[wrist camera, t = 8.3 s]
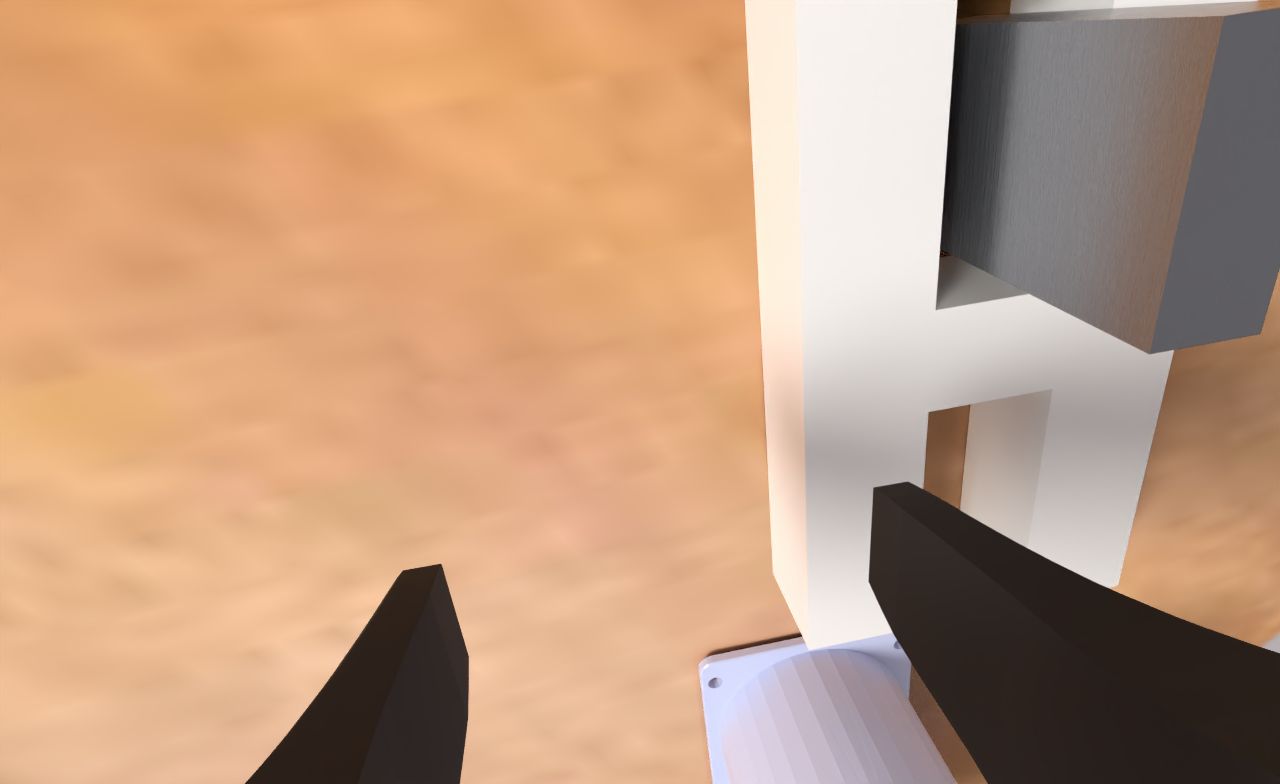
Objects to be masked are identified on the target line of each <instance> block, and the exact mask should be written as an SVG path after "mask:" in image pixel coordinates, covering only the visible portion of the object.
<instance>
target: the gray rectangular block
mask: <svg viewBox="0 0 1280 784" xmlns="http://www.w3.org/2000/svg"><path fill="white" fill-rule="evenodd" d="M940 249H941V250H943V251H945V252H947V253H949V254H951V255H953V256H955V257H957V258H959V259H961V260H963V261H965V262H967V263H969V264H971V265H973V266H975V267H977V268H979V269H981V270H983V271H985V272H987V273H989V274H991V275H993V276H995V277H997V278H999V279H1001V280H1003V281H1005V282H1007V283H1009V284H1011V285H1013V286H1015V287H1017V288H1019V289H1020V290H1022V291H1024V292H1026V293H1028V294H1030V295H1032V296H1034V297H1036V298H1038V299H1040V300H1042V301H1044V302H1046V303H1048V304H1050V305H1052V306H1054V307H1056V308H1058V309H1060V310H1062V311H1064V312H1066V313H1068V314H1070V315H1072V316H1074V317H1076V318H1078V319H1080V320H1082V321H1084V322H1086V323H1088V324H1090V325H1092V326H1094V327H1096V328H1098V329H1100V330H1102V331H1104V332H1106V333H1108V334H1110V335H1112V336H1114V337H1116V338H1118V339H1120V340H1122V341H1124V342H1126V343H1128V344H1130V345H1131V346H1133V347H1135V348H1137V349H1139V350H1141V351H1143V352H1145V353H1147V354H1155V353H1160V352H1166V351H1171V350H1176V349H1182V348H1187V347H1193V346H1198V345H1204V344H1209V343H1214V342H1220V341H1225V340H1231V339H1236V338H1241V337H1247V336H1252V335H1258V334H1260V333H1261V330H1262V326H1263V323H1264V320H1265V316H1266V313H1267V309H1268V306H1269V303H1270V299H1271V296H1272V292H1273V289H1274V286H1275V282H1276V279H1277V276H1278V272H1279V269H1280V0H1267V1H1247V2H1228V3H1208V4H1189V5H1169V6H1149V7H1130V8H1110V9H1090V10H1071V11H1051V12H1032V13H1012V14H992V15H979V16H972V17H965V18H958V19H956V27H955V41H954V56H953V70H952V84H951V98H950V113H949V127H948V141H947V155H946V170H945V184H944V198H943V212H942V227H941V241H940Z"/></svg>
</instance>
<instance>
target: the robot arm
mask: <svg viewBox="0 0 1280 784" xmlns="http://www.w3.org/2000/svg"><path fill="white" fill-rule="evenodd" d="M868 582H869V584H870V586H871V588H872V590H873V593H874V595H875V597H876V599H877V601H878V603H879V606H880V608H881V610H882V612H883V614H884V616H885V618H886V620H887V622H888V624H889V626H890V628H891V630H892V632H893V633H890V634H885V635H880V636H875V637H870V638H866V639H861V640H856V641H851V642H847V643H842V644H837V645H832V646H827V647H823V648H818V649H813V650H809V649H808V647H807V645H806V643H805V641H804V638H803V637H799V638H794V639H789V640H784V641H779V642H775V643H770V644H765V645H760V646H755V647H750V648H746V649H741V650H736V651H731V652H726V653H722V654H717V655H712V656H709V657H706V658H705V659H703V660H702V661H701V662H700V664H699V668H698V669H699V677H700V685H701V694H702V702H703V710H704V719H705V727H706V735H707V744H708V752H709V760H710V768H711V777H712V784H957V782H956V781H955V779H954V777H953V776H952V774H951V772H950V770H949V769H948V767H947V765H946V764H945V762H944V760H943V758H942V757H941V755H940V753H939V752H938V750H937V748H936V746H935V745H934V743H933V741H932V740H931V738H930V736H929V734H928V733H927V731H926V729H925V728H924V726H923V724H922V722H921V721H920V719H919V717H918V716H917V714H916V712H915V710H914V709H913V707H912V705H911V704H910V702H909V689H910V675H911V663H912V665H913V666H914V668H915V669H916V671H917V672H918V674H919V676H920V677H921V679H922V680H923V682H924V683H925V685H926V686H927V688H928V689H929V691H930V693H931V694H932V696H933V697H934V699H935V700H936V702H937V703H938V705H939V706H940V708H941V709H942V711H943V713H944V714H945V716H946V717H947V719H948V720H949V722H950V723H951V725H952V726H953V728H954V730H955V731H956V733H957V734H958V736H959V737H960V739H961V740H962V742H963V743H964V745H965V746H966V748H967V750H968V751H969V753H970V754H971V756H972V758H973V759H974V761H975V763H976V764H977V766H978V768H979V769H980V771H981V773H982V774H983V776H984V778H985V779H986V781H987V783H988V784H1280V653H1277V652H1274V651H1271V650H1267V649H1264V648H1261V647H1258V646H1255V645H1253V644H1250V643H1247V642H1244V641H1241V640H1238V639H1235V638H1233V637H1230V636H1227V635H1224V634H1221V633H1218V632H1216V631H1213V630H1210V629H1207V628H1204V627H1201V626H1199V625H1196V624H1194V623H1191V622H1188V621H1186V620H1183V619H1180V618H1178V617H1175V616H1173V615H1170V614H1168V613H1165V612H1163V611H1161V610H1158V609H1156V608H1153V607H1151V606H1149V605H1146V604H1144V603H1141V602H1139V601H1137V600H1134V599H1132V598H1130V597H1127V596H1125V595H1122V594H1120V593H1118V592H1116V591H1113V590H1111V589H1109V588H1107V587H1105V586H1102V585H1100V584H1098V583H1096V582H1094V581H1092V580H1090V579H1088V578H1086V577H1084V576H1081V575H1079V574H1077V573H1075V572H1073V571H1071V570H1069V569H1067V568H1065V567H1063V566H1061V565H1059V564H1057V563H1055V562H1053V561H1051V560H1049V559H1047V558H1045V557H1043V556H1042V555H1040V554H1038V553H1036V552H1034V551H1032V550H1030V549H1028V548H1026V547H1025V546H1023V545H1021V544H1019V543H1017V542H1015V541H1013V540H1012V539H1010V538H1008V537H1006V536H1004V535H1003V534H1001V533H999V532H997V531H995V530H994V529H992V528H990V527H988V526H987V525H985V524H983V523H981V522H980V521H978V520H976V519H974V518H973V517H971V516H969V515H967V514H966V513H964V512H962V511H960V510H959V509H957V508H955V507H954V506H952V505H950V504H948V503H947V502H945V501H943V500H941V499H940V498H938V497H936V496H934V495H933V494H931V493H929V492H927V491H925V490H924V489H922V488H920V487H918V486H916V485H914V484H912V483H910V482H902V483H896V484H891V485H885V486H879V487H874V488H873V503H872V522H871V541H870V560H869V580H868ZM713 678H716V679H713ZM711 679H713V680H711ZM468 693H469V656H468V653H467V649H466V646H465V643H464V639H463V636H462V632H461V629H460V626H459V622H458V619H457V615H456V612H455V609H454V605H453V602H452V598H451V595H450V592H449V588H448V585H447V582H446V578H445V575H444V571H443V568H442V565H441V564H438V565H432V566H426V567H421V568H415V569H409V570H404V571H402V572H401V574H400V575H399V576H398V577H397V579H396V581H395V582H394V584H393V585H392V587H391V588H390V590H389V591H388V593H387V594H386V596H385V597H384V599H383V601H382V602H381V604H380V605H379V607H378V608H377V610H376V611H375V613H374V614H373V616H372V618H371V619H370V621H369V622H368V624H367V625H366V627H365V628H364V630H363V631H362V633H361V634H360V636H359V637H358V639H357V640H356V642H355V643H354V644H353V646H352V647H351V649H350V650H349V652H348V653H347V654H346V656H345V657H344V659H343V660H342V662H341V663H340V665H339V666H338V667H337V669H336V670H335V672H334V673H333V675H332V676H331V677H330V679H329V680H328V682H327V683H326V684H325V686H324V687H323V688H322V690H321V691H320V692H319V694H318V695H317V696H316V697H315V699H314V700H313V701H312V703H311V704H310V705H309V707H308V708H307V709H306V711H305V712H304V713H303V714H302V716H301V717H300V718H299V720H298V721H297V722H296V724H295V725H294V726H293V727H292V729H291V730H290V731H289V733H288V734H287V735H286V736H285V738H284V739H283V740H282V741H281V742H280V744H279V745H278V746H277V747H276V748H275V750H274V751H273V752H272V753H271V754H270V756H269V757H268V758H267V759H266V760H265V761H264V763H263V764H262V765H261V766H260V767H259V768H258V770H257V771H256V772H255V773H254V774H253V775H252V776H251V777H250V779H249V780H248V781H247V782H246V783H245V784H460V777H461V770H462V762H463V754H464V746H465V739H466V730H467V722H468Z"/></svg>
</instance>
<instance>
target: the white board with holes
mask: <svg viewBox="0 0 1280 784" xmlns="http://www.w3.org/2000/svg"><path fill="white" fill-rule="evenodd" d="M1247 1H1258V0H1011V5H1010V14H1012V13H1032V12H1051V11H1071V10H1090V9H1110V8H1130V7H1149V6H1169V5H1189V4H1208V3H1228V2H1247ZM745 13H746V34H747V54H748V74H749V95H750V115H751V135H752V156H753V176H754V196H755V217H756V237H757V257H758V278H759V298H760V318H761V339H762V359H763V379H764V400H765V420H766V440H767V461H768V481H769V501H770V522H771V542H772V562H773V574H774V577H775V579H776V581H777V583H778V585H779V587H780V589H781V592H782V594H783V596H784V598H785V600H786V602H787V604H788V606H789V609H790V611H791V613H792V615H793V617H794V619H795V621H796V624H797V626H798V628H799V630H800V632H801V634H802V636H803V638H804V641H805V643H806V645H807V647H808V649H809V650H813V649H818V648H823V647H827V646H832V645H837V644H842V643H847V642H851V641H856V640H861V639H866V638H870V637H875V636H880V635H885V634H890V633H893V632H892V630H891V628H890V626H889V624H888V622H887V620H886V618H885V616H884V614H883V612H882V610H881V608H880V606H879V603H878V601H877V599H876V597H875V595H874V593H873V590H872V588H871V586H870V584H869V582H868V580H869V560H870V541H871V522H872V503H873V488H874V487H879V486H885V485H891V484H896V483H902V482H910V483H912V484H914V485H916V486H918V487H920V488H922V489H923V483H924V469H925V455H926V440H927V426H928V412H932V411H937V410H942V409H948V408H953V407H959V406H964V405H969V404H970V414H969V424H968V434H967V444H966V454H965V464H964V474H963V484H962V494H961V504H960V511H962V512H964V513H966V514H967V515H969V516H971V517H973V518H974V519H976V520H978V521H980V522H981V523H983V524H985V525H987V526H988V527H990V528H992V529H994V530H995V531H997V532H999V533H1001V534H1003V535H1004V536H1006V537H1008V538H1010V539H1012V540H1013V541H1015V542H1017V543H1019V544H1021V545H1023V546H1025V547H1026V548H1028V549H1030V550H1032V551H1034V552H1036V553H1038V554H1040V555H1042V556H1043V557H1045V558H1047V559H1049V560H1051V561H1053V562H1055V563H1057V564H1059V565H1061V566H1063V567H1065V568H1067V569H1069V570H1071V571H1073V572H1075V573H1077V574H1079V575H1081V576H1084V577H1086V578H1088V579H1090V580H1092V581H1094V582H1096V583H1098V584H1100V585H1102V586H1105V587H1107V588H1109V587H1114V586H1118V583H1119V579H1120V575H1121V570H1122V566H1123V562H1124V558H1125V554H1126V549H1127V545H1128V541H1129V537H1130V533H1131V528H1132V524H1133V520H1134V516H1135V512H1136V508H1137V503H1138V499H1139V495H1140V491H1141V487H1142V482H1143V478H1144V474H1145V470H1146V466H1147V462H1148V457H1149V453H1150V449H1151V445H1152V441H1153V436H1154V432H1155V428H1156V424H1157V420H1158V415H1159V411H1160V407H1161V403H1162V399H1163V395H1164V390H1165V386H1166V382H1167V378H1168V374H1169V369H1170V365H1171V361H1172V357H1173V353H1174V350H1171V351H1166V352H1160V353H1155V354H1147V353H1145V352H1143V351H1141V350H1139V349H1137V348H1135V347H1133V346H1131V345H1130V344H1128V343H1126V342H1124V341H1122V340H1120V339H1118V338H1116V337H1114V336H1112V335H1110V334H1108V333H1106V332H1104V331H1102V330H1100V329H1098V328H1096V327H1094V326H1092V325H1090V324H1088V323H1086V322H1084V321H1082V320H1080V319H1078V318H1076V317H1074V316H1072V315H1070V314H1068V313H1066V312H1064V311H1062V310H1060V309H1058V308H1056V307H1054V306H1052V305H1050V304H1048V303H1046V302H1044V301H1042V300H1040V299H1038V298H1036V297H1034V296H1032V295H1030V294H1028V293H1026V292H1024V291H1022V290H1020V289H1019V288H1017V287H1015V286H1013V285H1011V284H1009V283H1007V282H1005V281H1003V280H1001V279H999V278H997V277H995V276H993V275H991V274H989V273H987V272H985V271H983V270H981V269H979V268H977V267H975V266H973V265H971V264H969V263H967V262H965V261H963V260H961V259H959V258H957V257H955V256H953V255H950V256H944V257H939V255H940V241H941V227H942V212H943V198H944V184H945V170H946V155H947V141H948V127H949V113H950V98H951V84H952V70H953V56H954V41H955V27H956V13H957V0H745Z"/></svg>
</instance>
